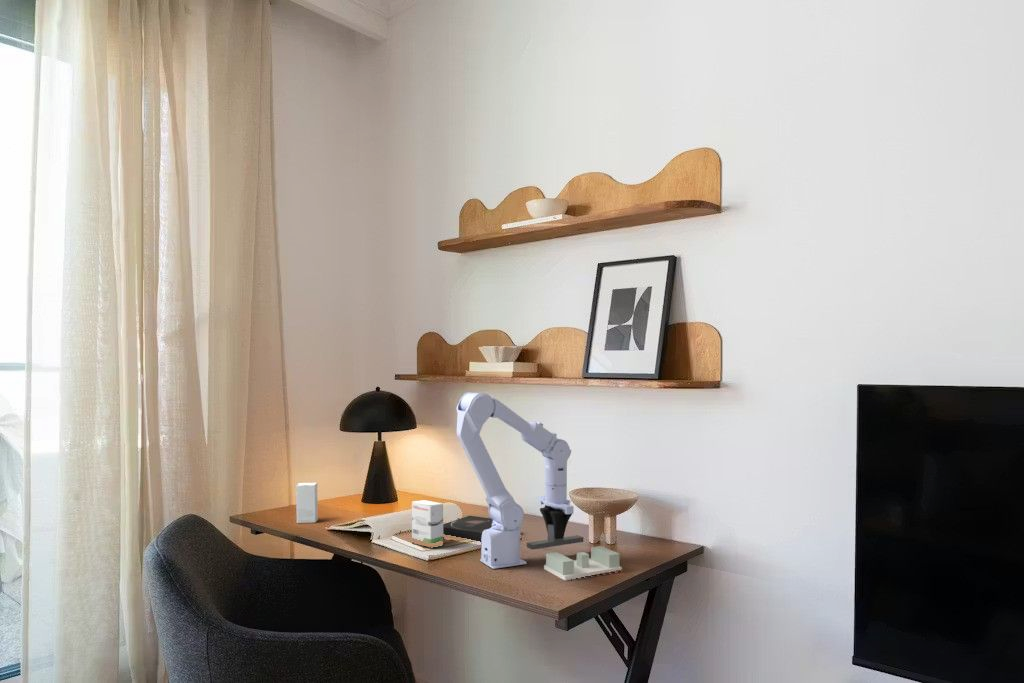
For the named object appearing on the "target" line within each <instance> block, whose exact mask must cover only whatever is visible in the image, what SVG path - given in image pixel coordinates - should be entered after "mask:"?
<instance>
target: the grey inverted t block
mask: <svg viewBox="0 0 1024 683" xmlns="http://www.w3.org/2000/svg"><path fill="white" fill-rule="evenodd" d="M583 542H584V536H581V535H576V534H575V535H571V536H564V537H563V538H562V539H555V535H554V525H553V524H549V525H548V533H547V539H543V540H536V541H530V542H529V541H528V542H527V543H526V548H527V549H529V550H538V549H539V550H540V549H545V548H551V547H552V548H553V547H557V546H559V547H560V546H564V545H572V544H577V543H583Z"/></svg>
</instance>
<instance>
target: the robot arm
mask: <svg viewBox="0 0 1024 683" xmlns="http://www.w3.org/2000/svg"><path fill="white" fill-rule="evenodd" d="M456 414H457V417H456V418H457V419H456V420H457V421H456V435H457V438H458V440H459V442H460V445H461V446H462V448H463V450H464V452H465V454H466V456H467V459H468V460H469V463H470V465H471V467H472V469H473V470H474V472H475V475H476V477H477V479H478V481H479V483H480V485H481V486H482V489H483V491H484V493H485V495H486V497H485V500H486V504H487V506H488V515H489V518H491V519H493V522H492V527H491V528H490V529H486V530H484V531H483V533H482V538H481V546H480V547H481V548H480V550H481V554H480V555H481V556H480V559H479V561H480V562H481V563H483V564H484V565H486V566H488V567H490V569H493V570H495V569H500V568H507V567H514V566H522V565H527V561H525V560H524V559H522V558H521V525H522V524H523V522H524V520H525V511H524V509H523V506H521V505H519V504H518V503H517V502H516V501H515V499H514V497H513V495H512V494H510V492H509V491H508V490H507V488H506V486H505V484H504V482H503V480H502V477H501V476H500V474H499V473H498V470H497V468H496V465H495V464H494V462H493V460H492V458H491V455H490V453H489V452H488V449H487V448H486V445H485V443H484V441H483V439H482V437H481V435H480V433H481V431H482V429H483V426H484V424H485V423H486V422H487V421H488V419H489V418H493V419H494V418H497V419H498V420H500V421H501V422H503V423H505V424H506V425H507V426H509V427H511V428H513V429H514V430H516V431H518V432H519V433H520V434H521V435H520V436H521V439H522V441H524V442H525V443H526V444H528V445H529V446H531V447H533V448H534V449H535V450H536V451H539V453H541V455H542V457H544V495H543V496H538V504H539V505H544V506H543V507H540V508H539V511H540V513H541V515H542V517H543V520H544V524H545V528H546V532H547V534H548V525H549V524H553V525H554V535H555V539H562V538H563V537H565V533H566V528H567V525H568V522H569V520H570V519H571V517H572V516H573V514H574V513H575V512H574V505H572V504H571V499H568V494H567V493H568V491H567V490H568V486H567V484H568V482H567V481H568V476H567V474H568V460H569V458H570V457H571V454H572V449H571V448H570V445H569V443H568V442H567V441H566V440H564V439H561V438H557V433H555V432H551V431H550V430H548V429H547V428H545V427H544V423H542V422H541V421H530V422H528V421H527V420H525V419H524V418H523V417H521V416H520V415H519V414H517V413H516V412H514V410H512V409H511V408H509V407H508V406H507V405H506V404H504V403H503V402H501V401H500V400H499V399H496V398H494V397H491V395H489V394H488V393H484V392H483V393H481V392H480V393H478V392H475V391H469V392H468V391H467V392H465V393H464V394H462V396H461V397H460V398H459V401H458V403H457V406H456Z"/></svg>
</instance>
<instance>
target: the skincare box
mask: <svg viewBox="0 0 1024 683" xmlns="http://www.w3.org/2000/svg"><path fill="white" fill-rule="evenodd" d="M295 494H296V495H295V498H296V500H295V502H296V505H295V506H296V509H295V510H296V512H295V513H296V524H308V523H310V524H312V523H315V524H316V523H317V521H318V520H319V519H318V516H319V514H318V508H319V507H318V506H319V504H318V482H299V483H297V484H296V486H295Z"/></svg>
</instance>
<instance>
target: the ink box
mask: <svg viewBox="0 0 1024 683" xmlns="http://www.w3.org/2000/svg"><path fill="white" fill-rule="evenodd" d="M443 524H444V503H442V502H436V501H433V500H432V501H431V500H425V499H422V500H413V501H411V536H412V537H411V539H412V538H414V539H417V540H421V541H424V542H428V543H436V542H439V541H443V540H444V537H443ZM444 541H445V540H444Z"/></svg>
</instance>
